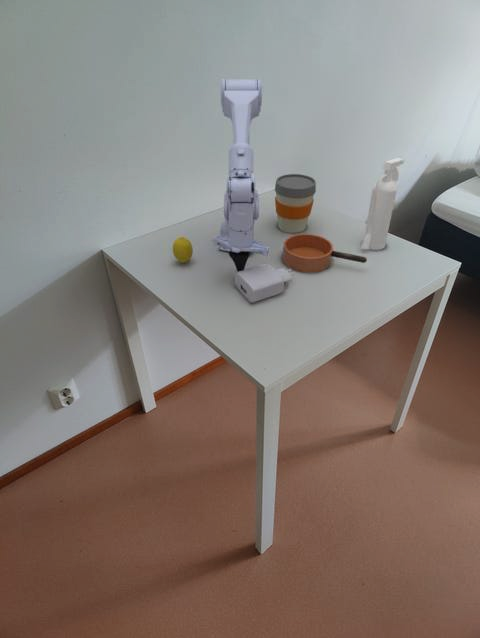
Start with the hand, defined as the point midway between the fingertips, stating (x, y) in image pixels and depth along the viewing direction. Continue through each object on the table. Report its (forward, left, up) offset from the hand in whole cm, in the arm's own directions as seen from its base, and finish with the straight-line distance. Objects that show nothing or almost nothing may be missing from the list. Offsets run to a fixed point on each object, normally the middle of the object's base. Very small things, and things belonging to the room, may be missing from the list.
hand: (241, 273), depth 107 cm
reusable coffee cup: (+3, +35, -2) cm, 35 cm away
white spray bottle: (+29, +32, -2) cm, 44 cm away
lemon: (-19, +2, -2) cm, 19 cm away
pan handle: (+24, +17, +1) cm, 30 cm away
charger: (+8, 0, -2) cm, 8 cm away
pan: (+13, +17, -2) cm, 22 cm away
